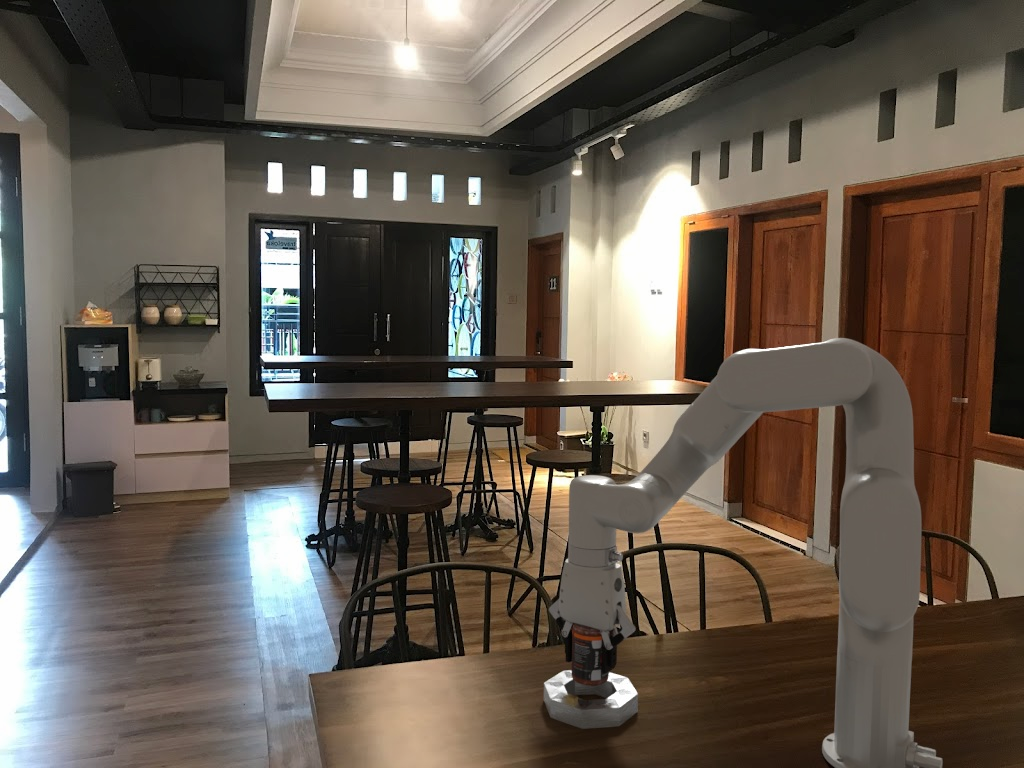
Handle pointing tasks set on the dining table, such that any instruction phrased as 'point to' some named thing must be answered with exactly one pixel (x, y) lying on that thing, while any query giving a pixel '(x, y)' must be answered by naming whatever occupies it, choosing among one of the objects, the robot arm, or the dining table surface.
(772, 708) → the dining table surface
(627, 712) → the grey octagonal ring
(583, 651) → the supplement bottle
